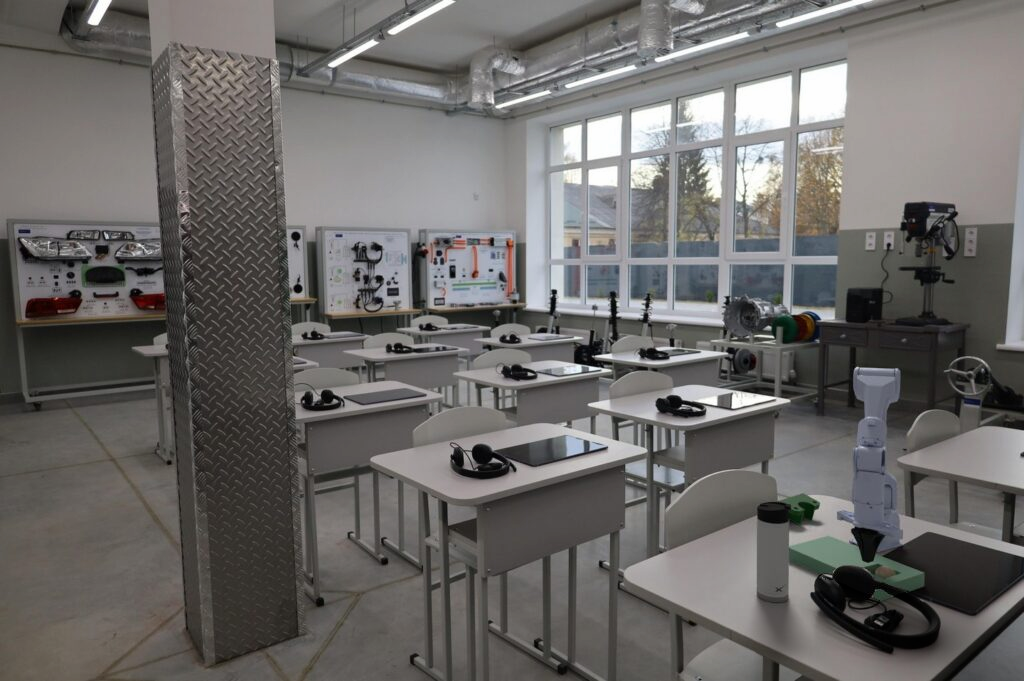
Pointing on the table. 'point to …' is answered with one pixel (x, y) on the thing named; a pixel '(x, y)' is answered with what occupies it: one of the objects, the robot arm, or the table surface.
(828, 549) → the putting board
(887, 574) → the maple ball
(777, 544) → the travel mug
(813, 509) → the clamp
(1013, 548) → the table surface
